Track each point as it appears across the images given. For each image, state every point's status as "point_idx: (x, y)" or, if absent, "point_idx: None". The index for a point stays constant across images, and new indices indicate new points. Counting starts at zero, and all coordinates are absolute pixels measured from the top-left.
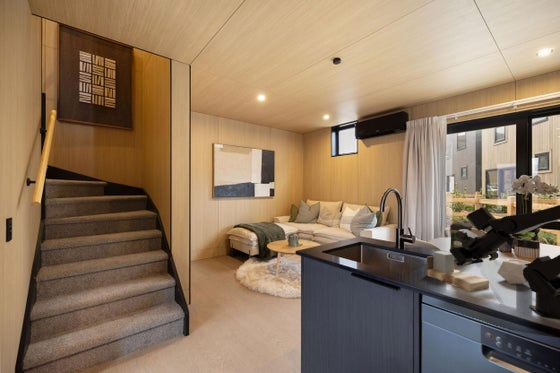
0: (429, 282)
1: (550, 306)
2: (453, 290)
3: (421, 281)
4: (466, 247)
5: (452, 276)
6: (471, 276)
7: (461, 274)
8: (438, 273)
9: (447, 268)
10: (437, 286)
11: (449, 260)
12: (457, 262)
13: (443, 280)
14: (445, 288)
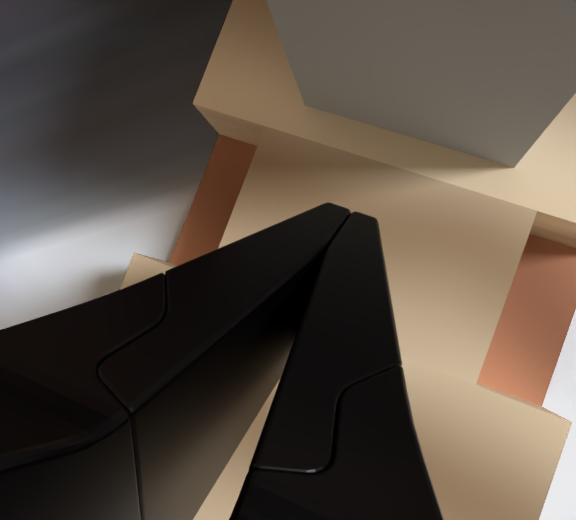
0: (66, 67)
1: None
2: (2, 321)
3: (35, 2)
4: None
5: (229, 227)
6: (454, 442)
7: (431, 299)
8: (216, 51)
9: (347, 91)
10: (4, 169)
11: (404, 22)
12: (286, 227)
13: (220, 149)
14: (3, 245)
